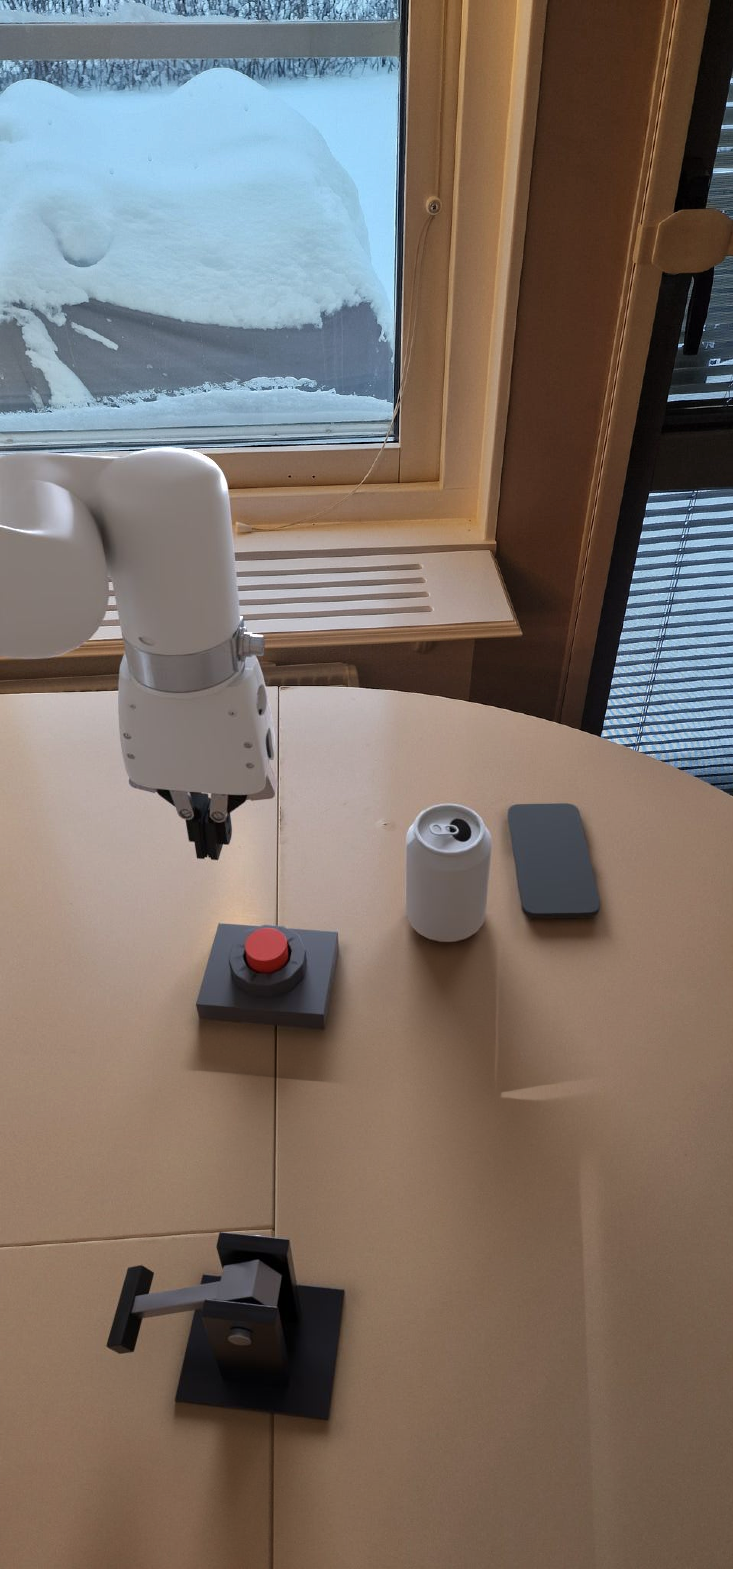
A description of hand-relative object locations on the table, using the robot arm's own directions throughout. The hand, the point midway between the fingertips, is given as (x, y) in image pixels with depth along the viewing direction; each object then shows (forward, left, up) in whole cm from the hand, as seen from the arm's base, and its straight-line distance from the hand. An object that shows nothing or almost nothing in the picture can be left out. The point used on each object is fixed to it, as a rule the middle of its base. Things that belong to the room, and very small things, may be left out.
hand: (212, 846), depth 79 cm
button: (+3, +1, -15) cm, 15 cm away
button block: (+3, +1, -19) cm, 19 cm away
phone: (+28, +18, -19) cm, 38 cm away
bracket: (+8, -29, -19) cm, 35 cm away
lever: (+5, -29, -12) cm, 31 cm away
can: (+18, +10, -19) cm, 28 cm away
